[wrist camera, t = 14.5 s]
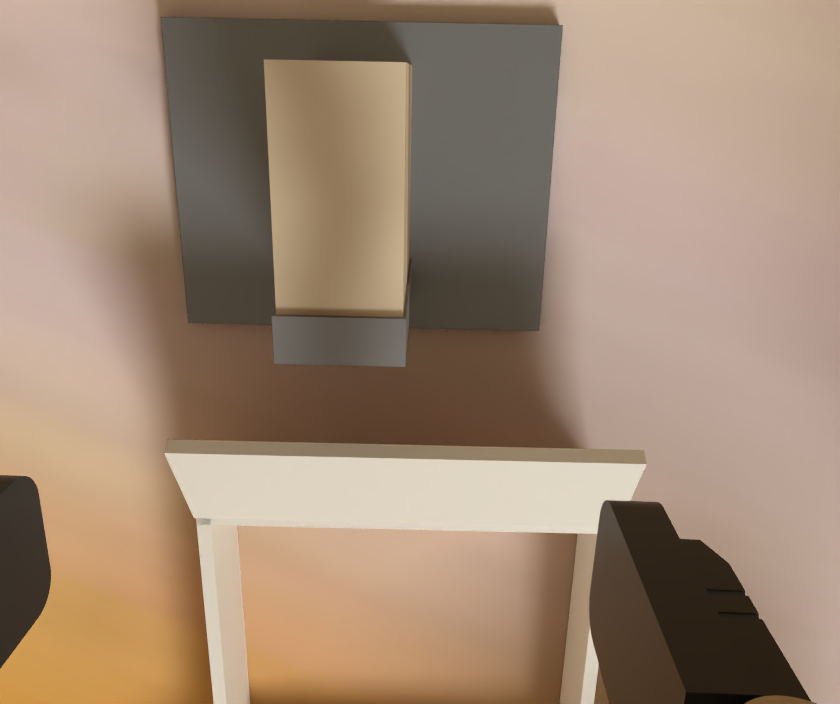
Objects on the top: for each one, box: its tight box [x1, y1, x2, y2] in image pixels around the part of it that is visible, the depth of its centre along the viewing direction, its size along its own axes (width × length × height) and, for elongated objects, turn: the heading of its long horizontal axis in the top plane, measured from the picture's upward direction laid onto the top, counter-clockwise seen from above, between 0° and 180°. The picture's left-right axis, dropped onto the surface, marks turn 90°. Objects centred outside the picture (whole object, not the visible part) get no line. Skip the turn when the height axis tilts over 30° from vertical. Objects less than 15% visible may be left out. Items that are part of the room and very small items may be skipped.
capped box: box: [264, 59, 412, 367], centre depth 27 cm, size 4×9×8 cm, turn 179°
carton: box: [164, 439, 647, 704], centre depth 35 cm, size 18×27×7 cm, turn 179°
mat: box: [161, 17, 563, 331], centre depth 31 cm, size 15×12×1 cm
